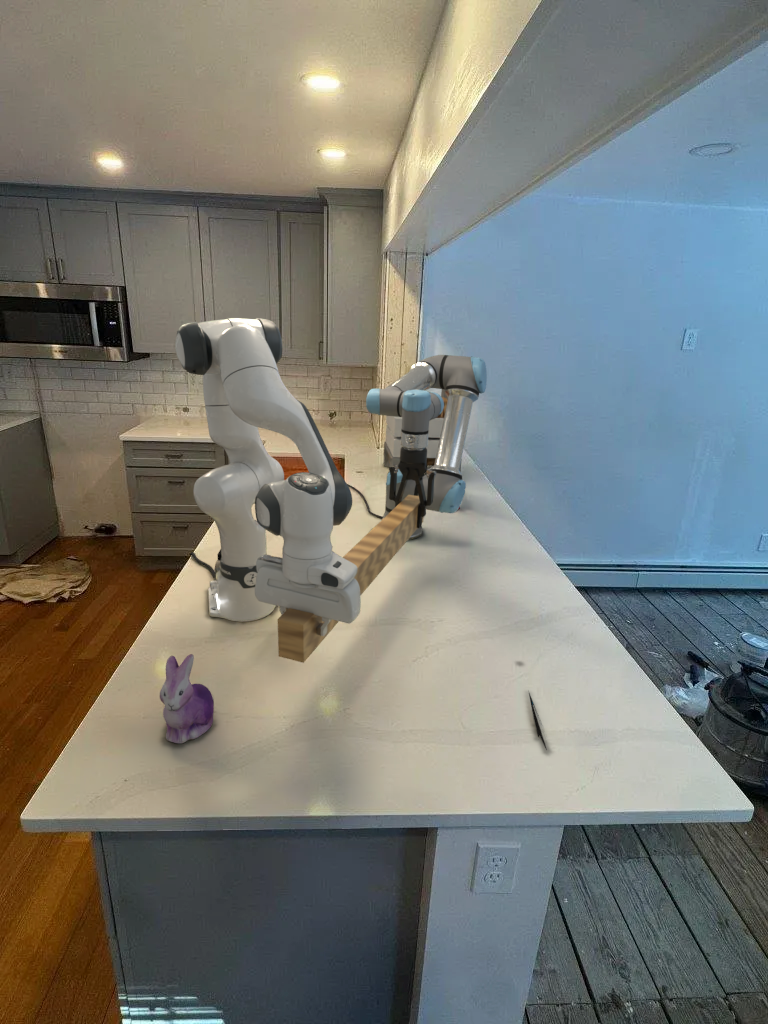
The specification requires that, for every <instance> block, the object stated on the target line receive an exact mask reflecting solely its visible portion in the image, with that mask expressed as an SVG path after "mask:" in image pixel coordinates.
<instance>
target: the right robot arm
mask: <svg viewBox="0 0 768 1024" xmlns="http://www.w3.org/2000/svg"><path fill="white" fill-rule="evenodd" d="M487 373H488V372H487V365H486V361H485V360H484V359H483V358H481V357H475V356H465V355H464V356H463V355H450V354H449V355H448V354H437V355H432V356H429V357H426V358H423V359H421V360H419V361H417V362H415V363H414V364H412V366H411V367H410V368H409V371H408V372H406V373H405V374H404V375H402V376H401V377H399V378H398V379H396V380H394V382H392V383H391V384H388V386H386V387H385V388H371V389H370V390H369V391H368V392H367V395H366V398H365V399H366V400H365V405H366V406H365V407H366V410H367V412H368V413H370V414H372V415H378V416H385V417H386V416H394V417H402V429H401V446H402V447H401V449H400V463H399V464H398V465H396V466H395V465H392V466H391V467H388V473H387V475H386V482H385V504H384V505H385V507H384V508H385V509H384V513H383V515H382V516H381V515H380V514H379V515H378V514H376V513H373V512H372V511H371V510H370V506H369V504H368V502H367V499H366V497H365V495H364V494H363V493H362V492H361V491H360V490H358V489H357V488H356V487H354V486H352V485H350V484H349V483H347V485H348V487H349V488H350V489H353V490H354V491H355V492H356V493H358V494H359V495H360V496H361V497H362V499H363V501H364V503H365V506H366V508H367V512H368V513H369V514H370V515H372V516H374V517H376V518H379V519H381V520H382V519H384V518H385V517H386V516H387V515H388V514H389V513H390V512H391V511H392V510H393V509H394V508H395V507H396V506H397V505H398V504H399V503H400V502H401V501H402V500H404V499H405V498H406V497H407V496H408V495H414V496H419V500H420V505H419V506H418V514H417V530H416V531H415V532H414V533H413V534H412V536H411V537H410V538H409V539H408V540H407V541H410V540H415V539H418V538H420V537H421V536H422V535H423V523H422V517H424V518H425V516H426V514H427V511H433V512H438V513H441V514H443V513H445V514H454V513H456V512H457V511H458V510H459V509H458V508H459V507H460V508H461V505H462V502H463V501H464V497H465V493H466V488H467V487H466V486H467V484H466V481H465V480H463V474H462V473H460V471H459V468H460V463H461V464H462V462H461V458H462V457H463V452H464V448H465V444H466V438H467V433H468V428H469V425H470V418H471V413H472V408H473V404H474V402H476V401H478V400H479V396H480V394H484V393H485V392H486V389H487V381H488V380H487V379H488V377H487V375H488V374H487ZM429 389H437V390H442V389H445V394H446V396H447V397H448V401H447V406H446V411H445V416H444V420H443V425H442V430H441V435H440V440H439V445H438V450H437V454H436V459H435V464H434V466H430V468H429V466H427V449H426V447H427V446H428V432H429V421H430V420H432V419H435V418H437V417H438V416H439V415H440V414H441V413H442V411H443V409H444V401H443V399H442V397H441V394H439V393H438V392H435V391H428V390H429Z"/></svg>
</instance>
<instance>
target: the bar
mask: <svg viewBox="0 0 768 1024" xmlns="http://www.w3.org/2000/svg"><path fill="white" fill-rule="evenodd" d="M419 505H420V500H419V496H414V495H408V496H407V497H406V498H405V499H404V500H402V501H401V502H400V503H399V504H398V505H397V506H396V507H395V508H394V509H393V510H392V511H391V512H390V513H389V514H388V515H387V516H386V517H385V518H384V519H382V518H381V520H380V521H379V522H378V523H377V524H376V525H375V526H374V527H373V528H372V529H370V531H368V533H367V534H365V535H364V536H363V537H362V538H361V539H360V540H359V541H358V542H357V543H356V544H355V545H354V546H353V547H352V548H351V549H349V551H347V552H346V553H345V554H344V555H343V556H341V557H342V558H344V559H346V560H348V561H350V562H352V563H353V564H355V565H356V566H357V574H356V576H355V577H354V578H355V579H356V580H357V582H358V584H359V587H360V597H362V595H363V594H364V593H365V592H366V590H367V589H368V588H369V586H370V585H371V584H372V583H373V582H374V581H375V580H376V578H377V577H378V576H379V575H380V574H381V572H382V571H383V570H384V569H385V567H386V566H387V565H389V563H390V562H391V561H392V560H393V558H394V557H395V556H396V555H397V553H398V552H399V551H400V550H401V549H402V547H404V546H405V544H406V543H407V542H408V541H409V540H408V539H409V538H410V537H411V536H412V534H413V533H414V532H415V531H416V530H417V514H418V506H419ZM424 518H425V516H424V517H422V524H423V523H424ZM324 622H325V621H322V617H320V616H316V615H314V614H313V613H309V612H304V611H300V610H296V609H291V608H289V609H288V610H287V611H286V612H284V613H283V614H281V615H280V616H279V617H278V618H277V643H278V644H277V645H278V646H277V648H278V649H277V650H278V657H279V658H283V659H287V660H291V661H295V662H299V663H303V664H305V662H306V661H307V660H308V658H310V656H311V655H312V654H313V653H314V651H316V649H317V648H319V646H320V645H321V643H322V642H323V641H324V640H325V639H326V637H328V636H329V634H330V633H331V631H332V630H333V629H334V628H335V626H336V625H337V624H338V623H339V622H340V621H336V620H331V621H330V623H329V624H328V625H327V633H326V635H325V636H320V635H317V634H316V632H317V631H316V627H317V626H318V625H319V624H320V623H324Z"/></svg>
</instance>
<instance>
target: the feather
mask: <svg viewBox="0 0 768 1024" xmlns="http://www.w3.org/2000/svg"><path fill="white" fill-rule="evenodd" d="M528 696H529V701H530V706H531V712H532V716H533V717H532V718H533V722H534V726H535V729H536V734H537V738H540V739H541V743H542V744H543V747H544V748H545V750H546V751H547V750H548V749H547V746H546V742H545V739H544V736H543V733H542V731H544V728H543V727H544V725H543V723H542V721H541V718H540V717H539V713H538V711H537V709H536V706H535V703H534V701H533V698H532V696H531V693H530V691H529V689H528ZM541 728H542V729H541ZM545 738H548V737H547V735H545ZM538 740H539V739H538Z"/></svg>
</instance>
